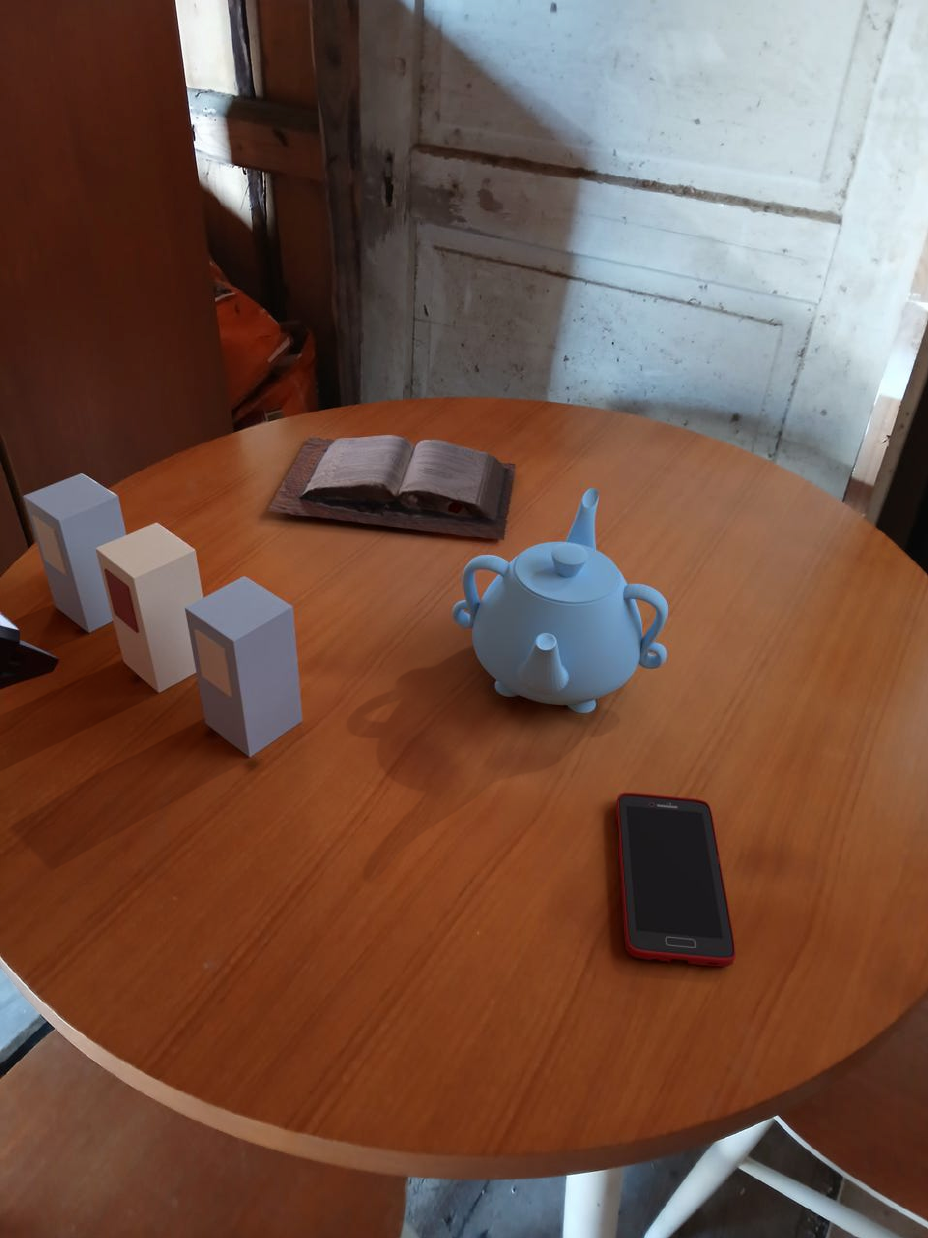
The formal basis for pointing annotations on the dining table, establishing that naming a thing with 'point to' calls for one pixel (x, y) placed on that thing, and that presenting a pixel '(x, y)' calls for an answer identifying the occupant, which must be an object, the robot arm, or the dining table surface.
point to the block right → (246, 664)
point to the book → (399, 485)
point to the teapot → (561, 620)
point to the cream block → (152, 602)
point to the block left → (76, 544)
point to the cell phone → (672, 881)
